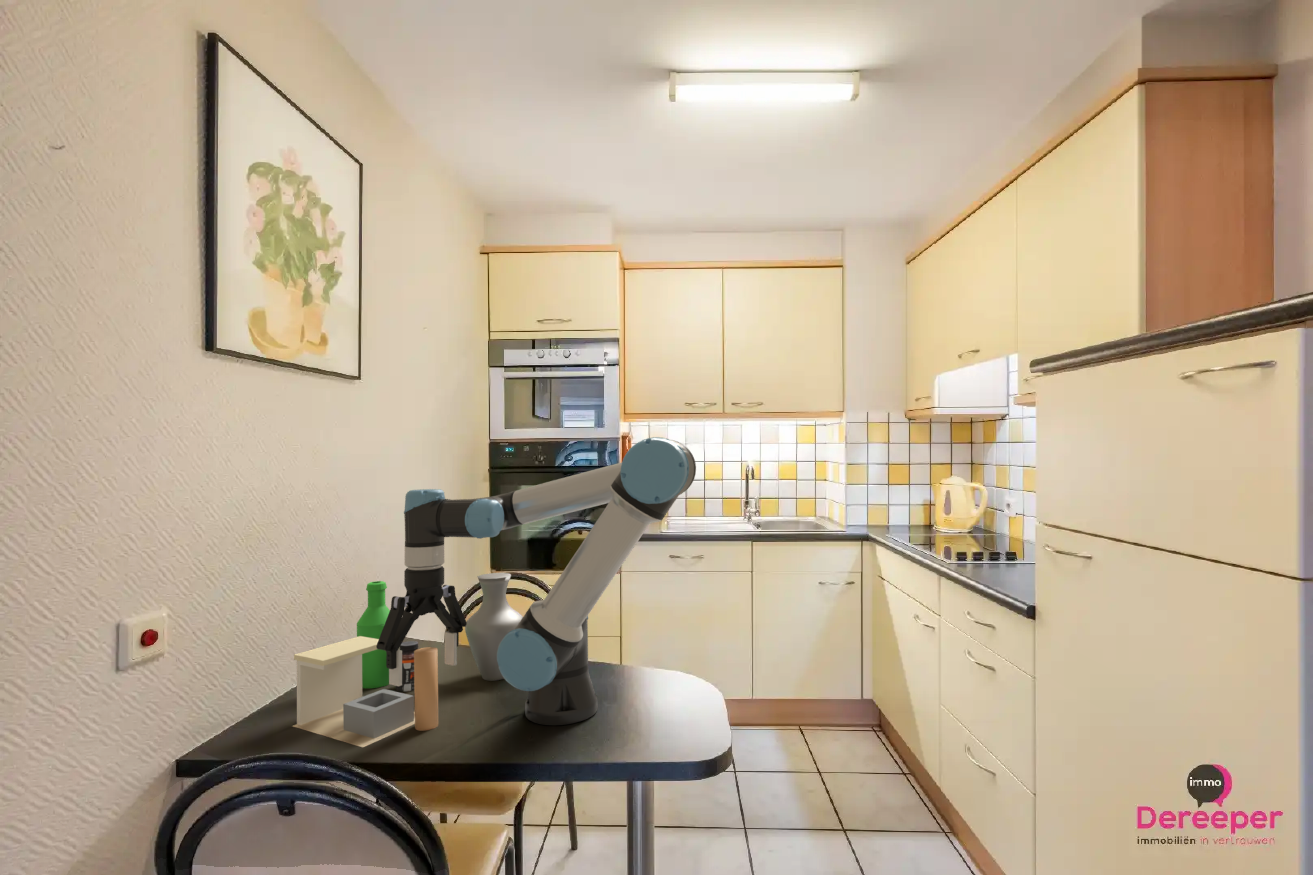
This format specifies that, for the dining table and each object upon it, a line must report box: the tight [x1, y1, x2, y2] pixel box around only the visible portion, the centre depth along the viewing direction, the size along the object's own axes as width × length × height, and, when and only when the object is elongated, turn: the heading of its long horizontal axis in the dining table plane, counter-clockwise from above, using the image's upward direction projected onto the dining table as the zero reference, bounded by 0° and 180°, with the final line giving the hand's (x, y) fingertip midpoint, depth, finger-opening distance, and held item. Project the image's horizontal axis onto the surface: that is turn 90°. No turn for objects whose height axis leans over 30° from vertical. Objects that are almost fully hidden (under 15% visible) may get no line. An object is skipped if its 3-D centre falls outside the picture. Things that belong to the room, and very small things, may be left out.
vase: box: [464, 572, 524, 681], centre depth 159 cm, size 14×14×25 cm
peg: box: [413, 646, 439, 732], centre depth 127 cm, size 4×4×16 cm
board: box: [292, 709, 415, 748], centre depth 130 cm, size 22×16×1 cm
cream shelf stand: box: [293, 636, 379, 725], centre depth 133 cm, size 10×15×14 cm, turn 151°
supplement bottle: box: [395, 640, 419, 692], centre depth 149 cm, size 6×6×11 cm
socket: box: [343, 688, 415, 739], centre depth 127 cm, size 9×9×5 cm
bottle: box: [356, 580, 391, 689], centre depth 154 cm, size 9×9×25 cm
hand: (424, 674), depth 127 cm, fingers open, 13 cm apart
